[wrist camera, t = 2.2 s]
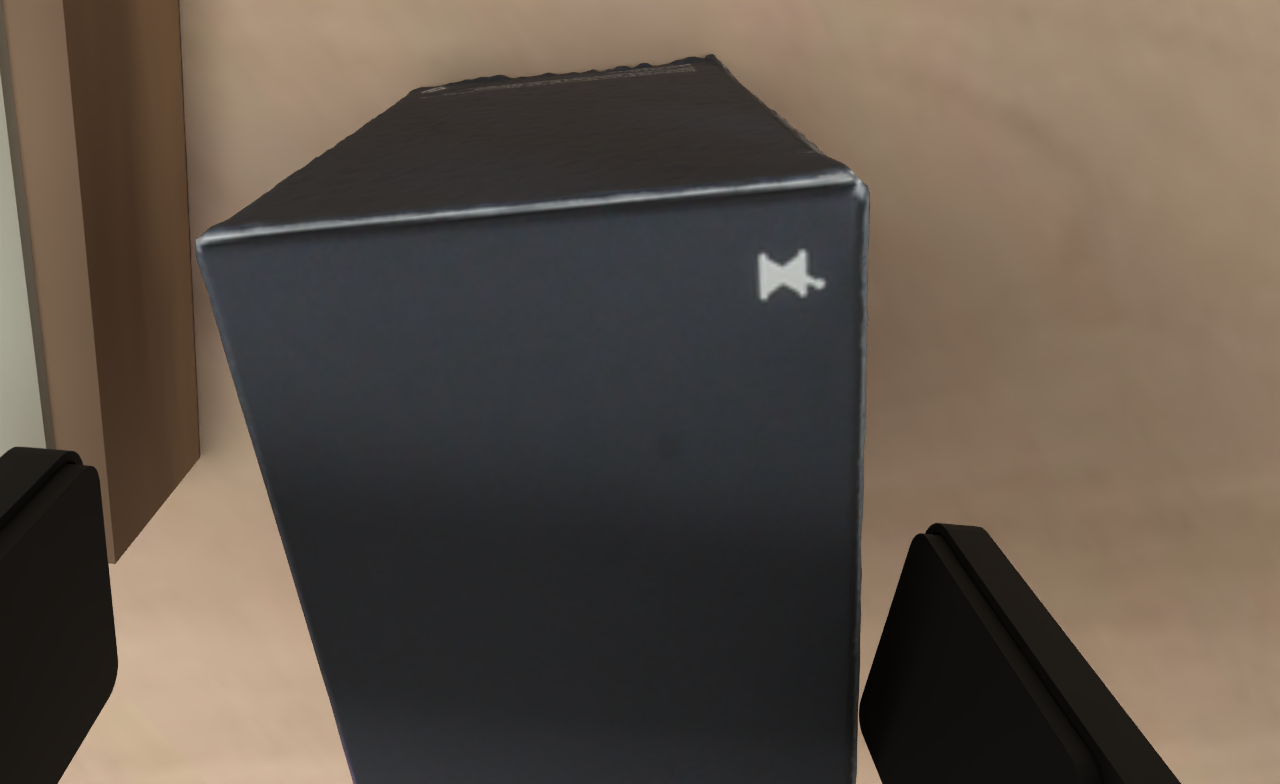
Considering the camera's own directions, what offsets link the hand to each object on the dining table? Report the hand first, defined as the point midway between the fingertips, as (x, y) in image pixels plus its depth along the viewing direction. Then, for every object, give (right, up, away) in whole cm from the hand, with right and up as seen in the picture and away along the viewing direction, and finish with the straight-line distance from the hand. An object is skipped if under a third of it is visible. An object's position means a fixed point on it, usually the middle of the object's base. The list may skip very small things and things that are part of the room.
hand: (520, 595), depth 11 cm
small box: (0, +4, +9) cm, 10 cm away
